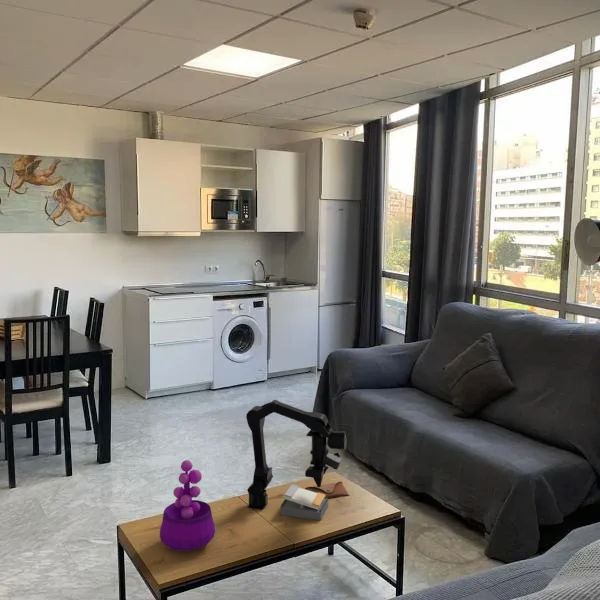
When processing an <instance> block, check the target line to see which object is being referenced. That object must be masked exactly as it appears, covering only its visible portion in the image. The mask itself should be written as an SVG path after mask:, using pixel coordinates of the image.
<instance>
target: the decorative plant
mask: <svg viewBox="0 0 600 600" xmlns="http://www.w3.org/2000/svg"><path fill="white" fill-rule="evenodd" d="M192 468H193V463H192V461H190V460H188V459H185V460H184V461H182V462H181V465H180V469H181V470H182V472H181V473H180V474H179V476H178V482H179V483H180V484H182V485H183V487H182V486H177V487H175V488H174V490H173V496H174V497H175V498H176V499H175V502H173V503H171V504H169V505H168V506H166V508H165V509H164V510H163V514H162V520H161V525H160V529H159V539H160V542H161V543H163V544H164V546H165V547H167V548H168V549H170V550H173V551H178V552H179V551H180V552H186V551H187V552H188V551H195V550H199V549H201V548H203V547H205V546H207V545H208V544H209V543H210V542H211V541H212V540H213V539H214V537H215V535H216V525H215V522H214V519H213V514H212V508H211V506H210V504H208V503H207V502H204V501H203V500H196V499H193V498H198V497H199V496H200V494H201V488H200V487H199V486H197V484H198V483H200V482H201V481H202V476H203V475H202V472H201V471H200V470H198V469H192ZM191 484H193V485H192V486H191ZM195 484H196V485H195Z"/></svg>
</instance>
